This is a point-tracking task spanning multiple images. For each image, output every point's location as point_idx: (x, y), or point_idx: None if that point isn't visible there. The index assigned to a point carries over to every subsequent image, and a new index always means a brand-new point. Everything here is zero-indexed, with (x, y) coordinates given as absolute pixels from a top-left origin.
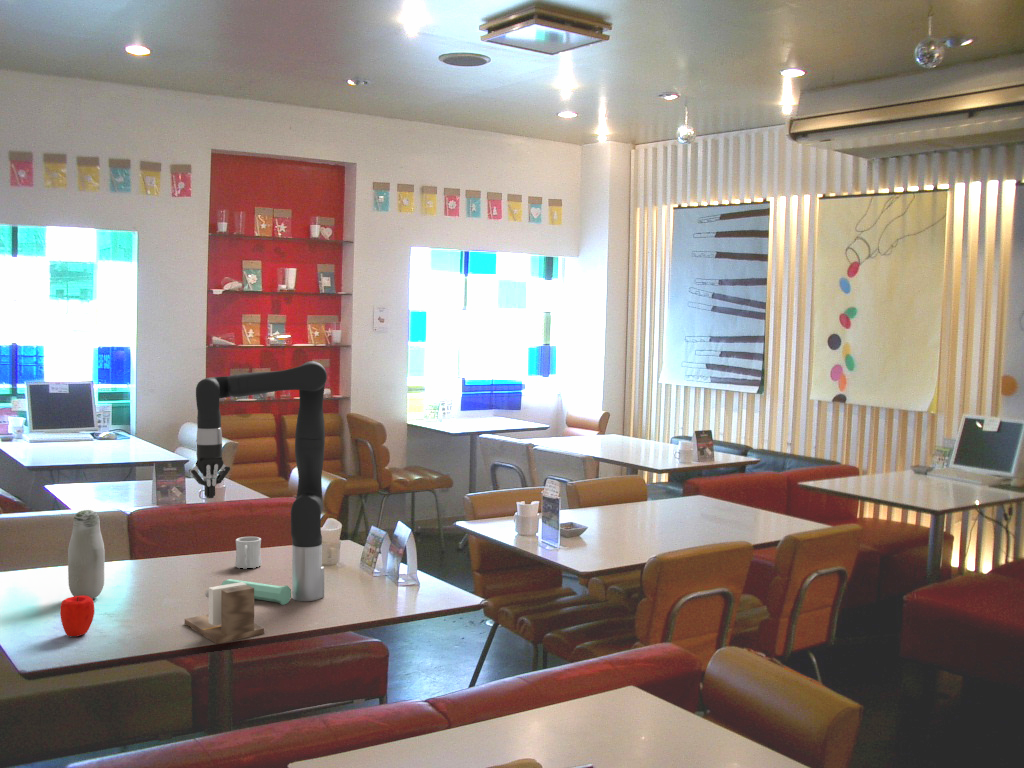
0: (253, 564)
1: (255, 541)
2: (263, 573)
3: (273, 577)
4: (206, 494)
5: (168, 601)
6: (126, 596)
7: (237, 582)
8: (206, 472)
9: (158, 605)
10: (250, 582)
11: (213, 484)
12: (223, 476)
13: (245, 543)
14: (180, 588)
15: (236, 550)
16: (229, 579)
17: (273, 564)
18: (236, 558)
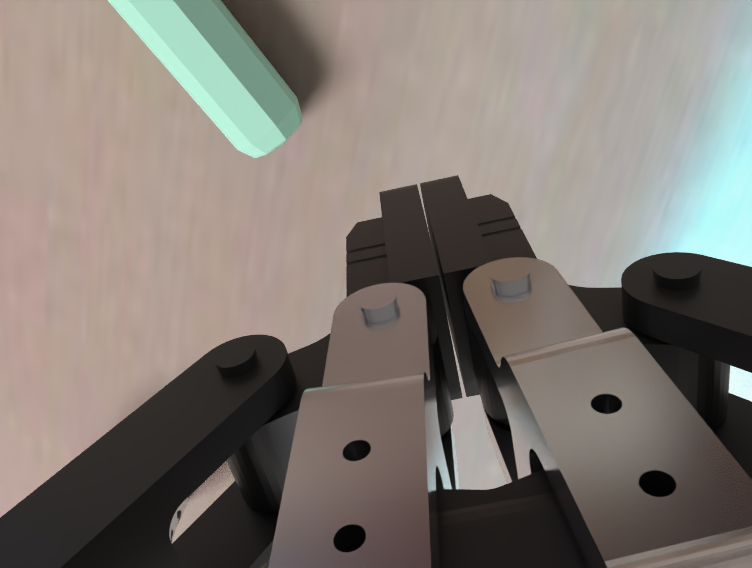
0: None
1: None
2: (83, 373)
3: (40, 301)
4: (509, 208)
5: (550, 95)
6: (677, 247)
7: (219, 52)
8: (743, 477)
9: (610, 44)
10: (148, 8)
11: (395, 294)
12: (98, 474)
13: None
14: None
15: (171, 538)
16: (253, 133)
17: (37, 477)
18: (179, 507)
